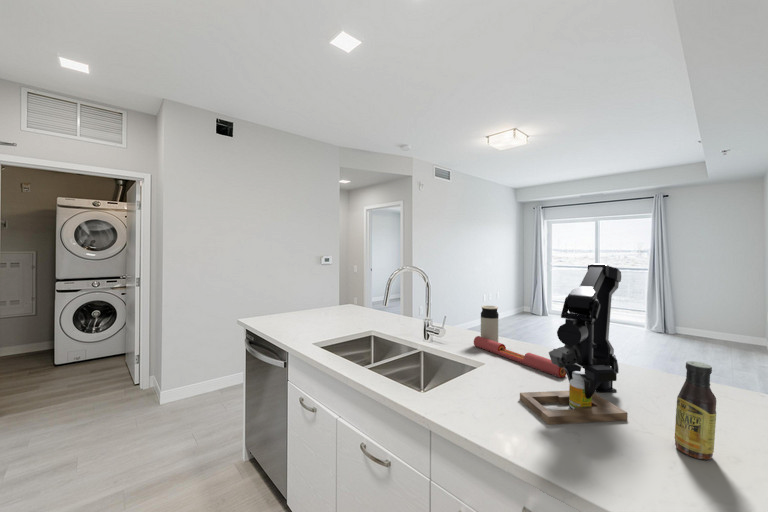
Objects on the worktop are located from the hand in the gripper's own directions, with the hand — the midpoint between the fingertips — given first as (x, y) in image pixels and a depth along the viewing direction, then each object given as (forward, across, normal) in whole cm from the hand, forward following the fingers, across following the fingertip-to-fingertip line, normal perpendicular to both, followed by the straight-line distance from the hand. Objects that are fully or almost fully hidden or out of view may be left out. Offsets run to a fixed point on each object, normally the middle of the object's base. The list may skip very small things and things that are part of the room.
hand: (580, 393), depth 90 cm
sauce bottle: (+4, +21, +11) cm, 24 cm away
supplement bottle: (+4, 0, 0) cm, 4 cm away
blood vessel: (+5, -41, +2) cm, 41 cm away
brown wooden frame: (+4, 0, -3) cm, 5 cm away
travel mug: (+5, -62, +1) cm, 62 cm away
